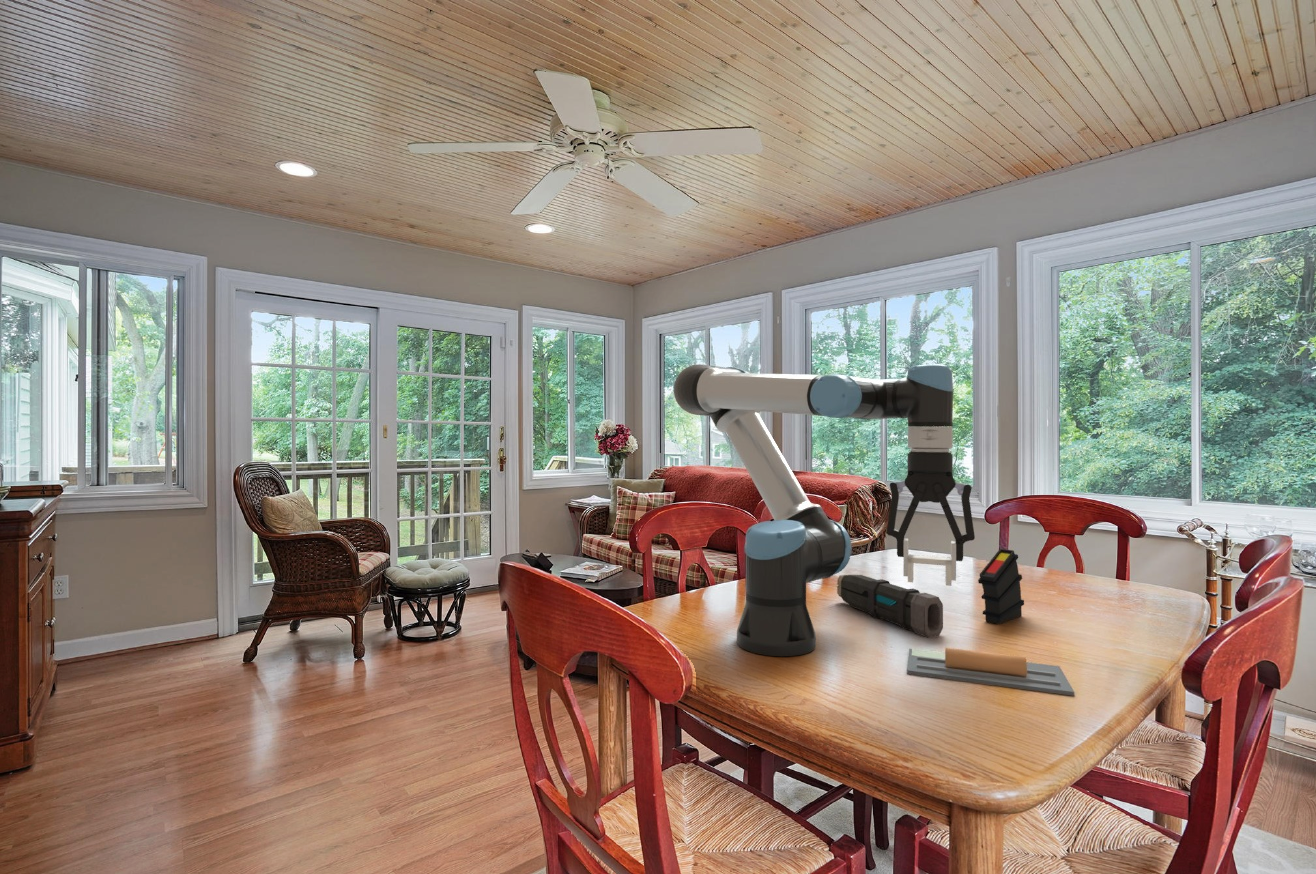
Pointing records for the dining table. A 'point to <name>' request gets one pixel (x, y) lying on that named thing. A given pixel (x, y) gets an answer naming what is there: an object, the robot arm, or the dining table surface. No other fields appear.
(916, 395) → the robot arm
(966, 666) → the tan cylindrical rod
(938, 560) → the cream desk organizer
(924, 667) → the guide mat
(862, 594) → the tube
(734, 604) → the dining table surface
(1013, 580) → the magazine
